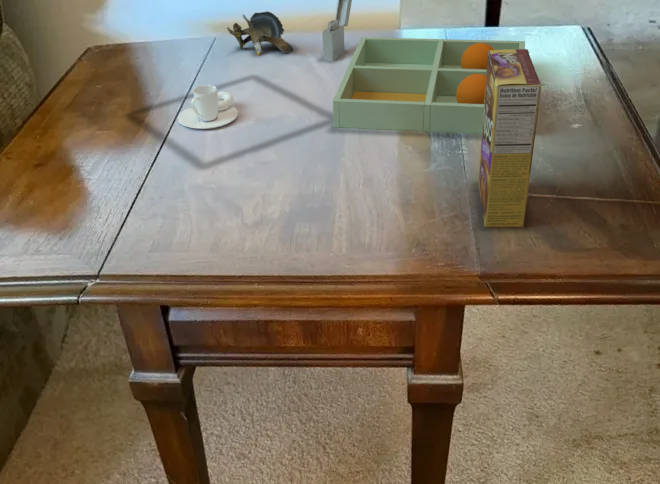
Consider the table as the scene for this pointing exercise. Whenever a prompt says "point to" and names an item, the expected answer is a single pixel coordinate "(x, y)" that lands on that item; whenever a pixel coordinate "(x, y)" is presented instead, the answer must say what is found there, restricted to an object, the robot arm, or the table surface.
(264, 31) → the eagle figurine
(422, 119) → the divided tray
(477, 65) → the clementine
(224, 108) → the teacup and saucer
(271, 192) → the table surface
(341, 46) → the lighter
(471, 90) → the clementine
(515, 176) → the candy box
